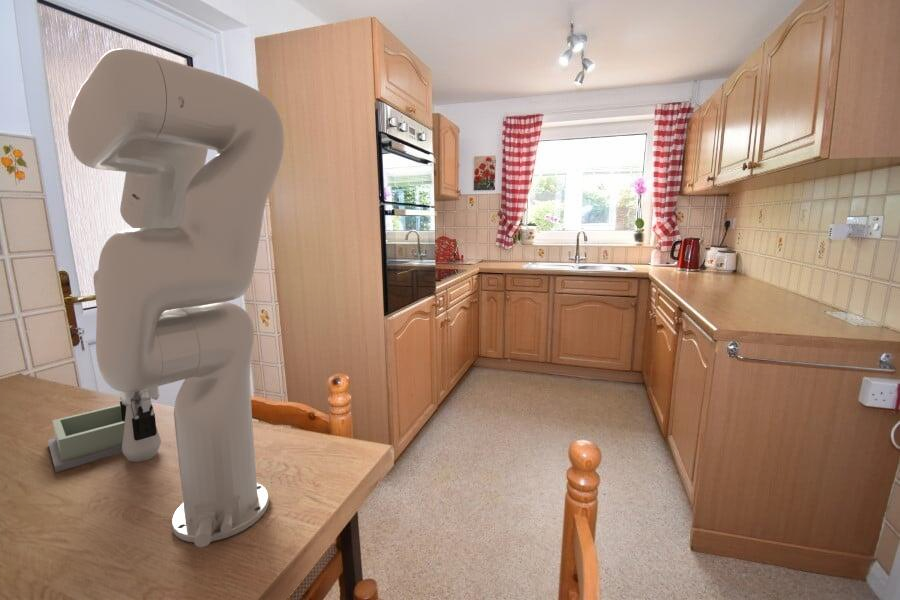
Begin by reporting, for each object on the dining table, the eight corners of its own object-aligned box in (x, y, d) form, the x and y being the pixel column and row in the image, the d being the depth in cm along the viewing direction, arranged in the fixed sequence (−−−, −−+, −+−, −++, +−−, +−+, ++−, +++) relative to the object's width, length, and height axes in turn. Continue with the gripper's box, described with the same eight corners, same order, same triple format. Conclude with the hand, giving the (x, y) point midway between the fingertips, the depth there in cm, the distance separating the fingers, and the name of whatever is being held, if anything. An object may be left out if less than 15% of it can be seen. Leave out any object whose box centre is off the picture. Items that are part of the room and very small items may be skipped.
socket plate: (147, 444, 81) (144, 419, 80) (55, 472, 71) (51, 444, 71) (132, 423, 90) (129, 400, 89) (48, 445, 80) (44, 420, 79)
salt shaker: (141, 467, 73) (133, 397, 71) (115, 463, 74) (105, 394, 72) (169, 450, 79) (162, 384, 77) (144, 446, 80) (136, 382, 78)
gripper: (167, 343, 70) (176, 437, 73) (142, 325, 82) (151, 407, 85) (111, 352, 65) (123, 453, 68) (92, 331, 76) (104, 419, 79)
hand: (139, 427), depth 76 cm, fingers open, 9 cm apart
